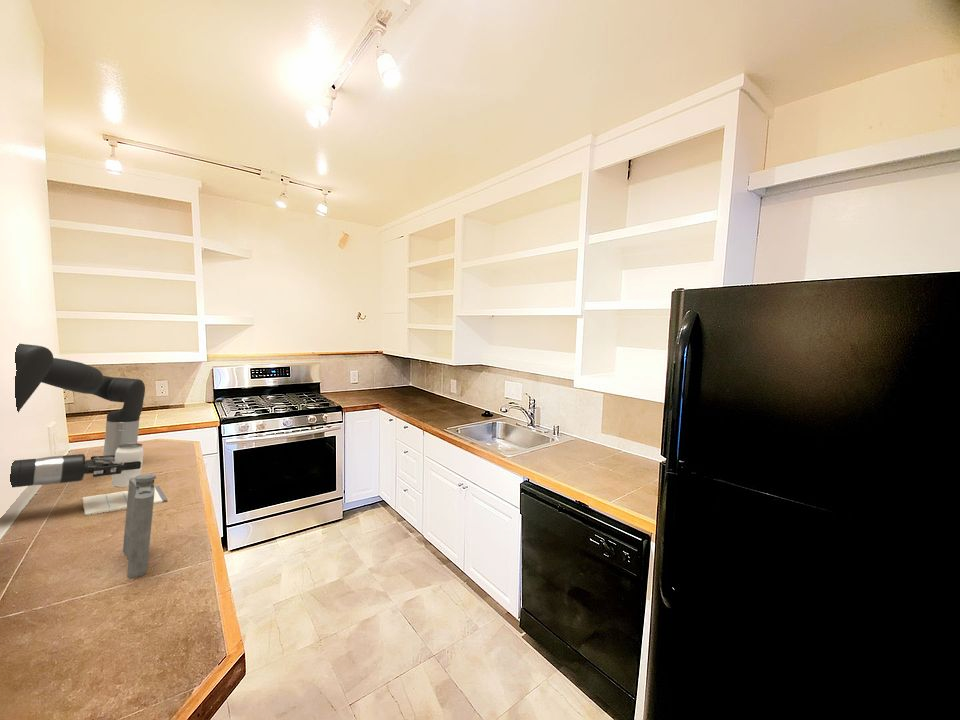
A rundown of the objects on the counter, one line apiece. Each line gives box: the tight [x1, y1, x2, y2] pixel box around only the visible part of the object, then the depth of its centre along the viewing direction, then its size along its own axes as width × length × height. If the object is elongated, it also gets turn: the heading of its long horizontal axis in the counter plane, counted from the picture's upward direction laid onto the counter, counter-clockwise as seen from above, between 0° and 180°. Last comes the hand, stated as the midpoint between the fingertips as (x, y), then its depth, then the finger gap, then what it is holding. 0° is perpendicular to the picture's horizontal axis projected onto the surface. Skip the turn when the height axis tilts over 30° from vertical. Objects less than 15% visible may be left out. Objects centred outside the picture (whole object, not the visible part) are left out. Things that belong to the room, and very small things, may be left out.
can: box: [111, 442, 144, 488], centre depth 117 cm, size 6×6×12 cm
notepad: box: [82, 485, 168, 517], centre depth 118 cm, size 14×18×1 cm
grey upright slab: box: [122, 473, 156, 579], centre depth 89 cm, size 16×4×20 cm, turn 46°
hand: (138, 461), depth 119 cm, fingers closed on can, 6 cm apart
